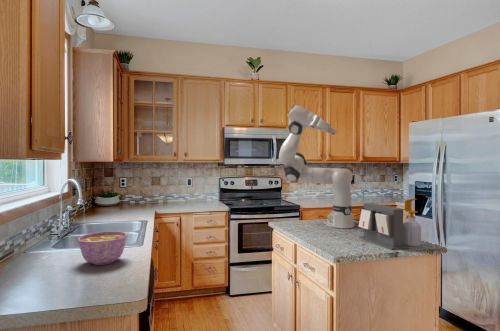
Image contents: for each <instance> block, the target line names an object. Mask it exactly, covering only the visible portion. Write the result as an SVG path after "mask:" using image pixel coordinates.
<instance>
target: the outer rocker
mask: <svg viewBox="0 0 500 331" xmlns="http://www.w3.org/2000/svg"><path fill="white" fill-rule="evenodd" d="M375 217H376V223H377V229H378V232H380V233H383V234H386V235H389V219H388V215H383V214H379V213H376V214H375Z"/></svg>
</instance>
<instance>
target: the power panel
mask: <svg viewBox="0 0 500 331" xmlns="http://www.w3.org/2000/svg"><path fill="white" fill-rule="evenodd" d="M362 209H364V210H368V211H371V226H370V230H368V229H365V228H362V230H363V235H359V239H361V240H363V241H366V242H369V243H371V244H374V245H377V246H380V247H382V248H385V249H387V250H390V251H397V250H406V249H408V247H409V246H407V245H404V244H403V223H404V208H399V207H395V206H394V207H393V206H389V205H383V204H378V203H373V202H369V203H368V202H367V203H363V207H359V217H360V216H361V210H362ZM376 213H379V214H383V215H388V219H389V235H386V234H383V233H380V232H378V229H377V223H376V217H375V214H376Z"/></svg>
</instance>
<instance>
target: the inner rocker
mask: <svg viewBox="0 0 500 331" xmlns="http://www.w3.org/2000/svg"><path fill="white" fill-rule="evenodd" d="M370 226H371V211H368V210H364V209H362V210H361V216H360V215H359V222H358V227H359V228H362V229H363V228H365V229H368V230H370Z"/></svg>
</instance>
